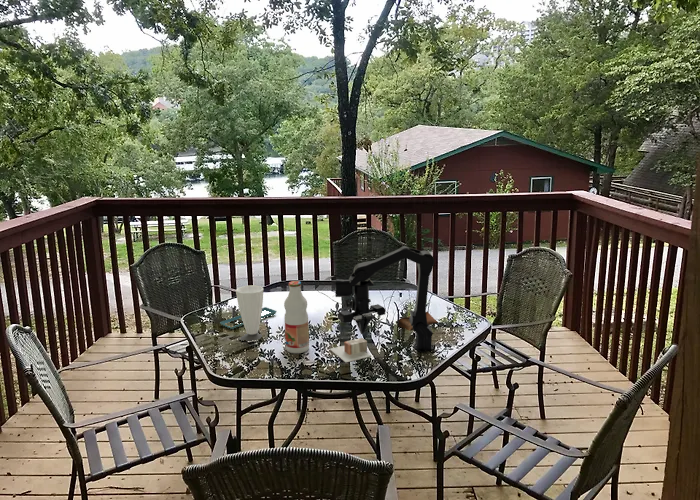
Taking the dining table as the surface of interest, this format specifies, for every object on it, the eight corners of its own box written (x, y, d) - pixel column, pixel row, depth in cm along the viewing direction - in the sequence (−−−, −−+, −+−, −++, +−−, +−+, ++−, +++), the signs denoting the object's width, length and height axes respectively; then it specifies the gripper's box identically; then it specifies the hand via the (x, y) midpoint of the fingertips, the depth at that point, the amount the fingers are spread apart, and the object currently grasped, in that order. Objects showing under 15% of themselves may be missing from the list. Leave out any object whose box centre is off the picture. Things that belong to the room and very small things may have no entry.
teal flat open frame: (231, 331, 231) (230, 326, 230) (219, 326, 237) (219, 321, 237) (277, 315, 249) (277, 311, 249) (265, 311, 256) (265, 306, 255)
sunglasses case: (409, 330, 227) (404, 316, 228) (400, 334, 232) (395, 320, 234) (440, 322, 237) (435, 308, 238) (430, 325, 242) (426, 312, 244)
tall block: (366, 341, 206) (349, 345, 202) (367, 350, 207) (349, 354, 203) (361, 337, 209) (344, 341, 206) (362, 347, 210) (344, 351, 207)
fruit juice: (309, 353, 206) (307, 285, 200) (285, 354, 205) (282, 286, 199) (309, 343, 215) (306, 278, 209) (286, 345, 214) (283, 279, 208)
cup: (239, 344, 216) (236, 294, 211) (238, 334, 227) (234, 286, 222) (267, 340, 219) (265, 291, 214) (264, 331, 230) (262, 284, 225)
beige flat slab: (371, 356, 202) (371, 355, 202) (345, 362, 197) (345, 362, 197) (353, 344, 214) (353, 343, 214) (329, 349, 209) (329, 348, 209)
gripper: (371, 287, 214) (372, 322, 218) (330, 294, 206) (331, 331, 209) (386, 294, 205) (386, 331, 208) (344, 302, 196) (344, 341, 200)
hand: (362, 333), depth 207 cm, fingers closed
